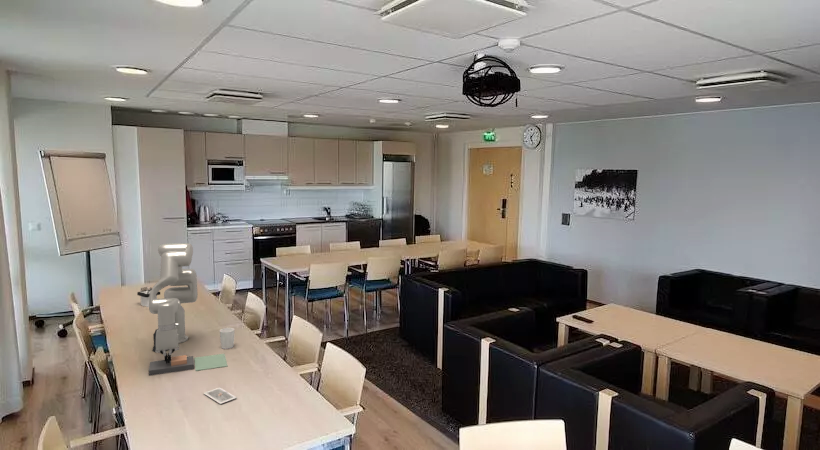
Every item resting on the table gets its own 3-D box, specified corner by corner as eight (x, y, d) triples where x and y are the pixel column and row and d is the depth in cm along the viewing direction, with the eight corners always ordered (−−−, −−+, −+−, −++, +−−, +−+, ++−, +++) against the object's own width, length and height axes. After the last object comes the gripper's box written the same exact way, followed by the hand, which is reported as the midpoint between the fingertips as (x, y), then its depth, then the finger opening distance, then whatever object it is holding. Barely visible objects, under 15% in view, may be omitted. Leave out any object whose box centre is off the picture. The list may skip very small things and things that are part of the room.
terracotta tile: (171, 360, 243) (171, 356, 243) (186, 358, 246) (186, 354, 246) (171, 365, 237) (171, 361, 237) (186, 363, 240) (186, 359, 240)
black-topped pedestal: (177, 304, 353) (176, 287, 352) (141, 313, 331) (140, 294, 330) (155, 299, 368) (155, 282, 366) (120, 306, 346) (119, 288, 344)
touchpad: (220, 406, 203) (220, 401, 203) (203, 395, 213) (203, 390, 213) (237, 399, 209) (237, 395, 209) (219, 389, 219) (219, 385, 219)
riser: (150, 366, 241) (150, 361, 241) (193, 360, 250) (193, 355, 250) (148, 375, 231) (148, 370, 230) (194, 369, 239) (194, 364, 239)
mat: (194, 358, 253) (194, 357, 253) (224, 354, 260) (224, 353, 260) (195, 371, 237) (195, 370, 237) (227, 366, 244) (227, 365, 243)
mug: (152, 353, 258) (151, 333, 257) (152, 347, 266) (151, 328, 265) (177, 349, 264) (176, 330, 263) (175, 344, 272) (175, 325, 271)
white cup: (219, 349, 266) (218, 332, 265) (220, 345, 273) (220, 328, 272) (234, 348, 268) (233, 331, 267) (235, 344, 275) (235, 327, 274)
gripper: (183, 323, 244) (184, 357, 246) (150, 326, 237) (151, 361, 239) (183, 327, 237) (184, 362, 239) (149, 331, 231) (150, 367, 233)
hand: (167, 362), depth 239 cm, fingers closed
